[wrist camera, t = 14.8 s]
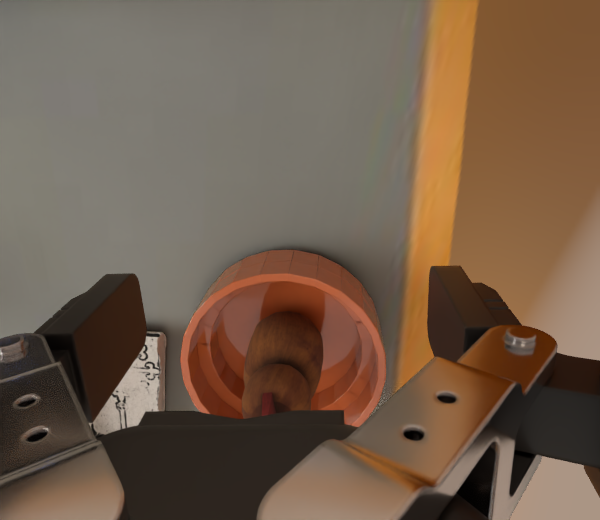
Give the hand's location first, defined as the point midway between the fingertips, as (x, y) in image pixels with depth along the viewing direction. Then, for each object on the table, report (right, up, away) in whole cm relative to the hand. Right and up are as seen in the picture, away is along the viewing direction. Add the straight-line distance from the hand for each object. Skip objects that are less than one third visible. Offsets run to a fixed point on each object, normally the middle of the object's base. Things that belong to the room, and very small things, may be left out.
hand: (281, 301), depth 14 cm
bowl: (0, -5, +29) cm, 30 cm away
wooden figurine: (0, -5, +29) cm, 29 cm away
